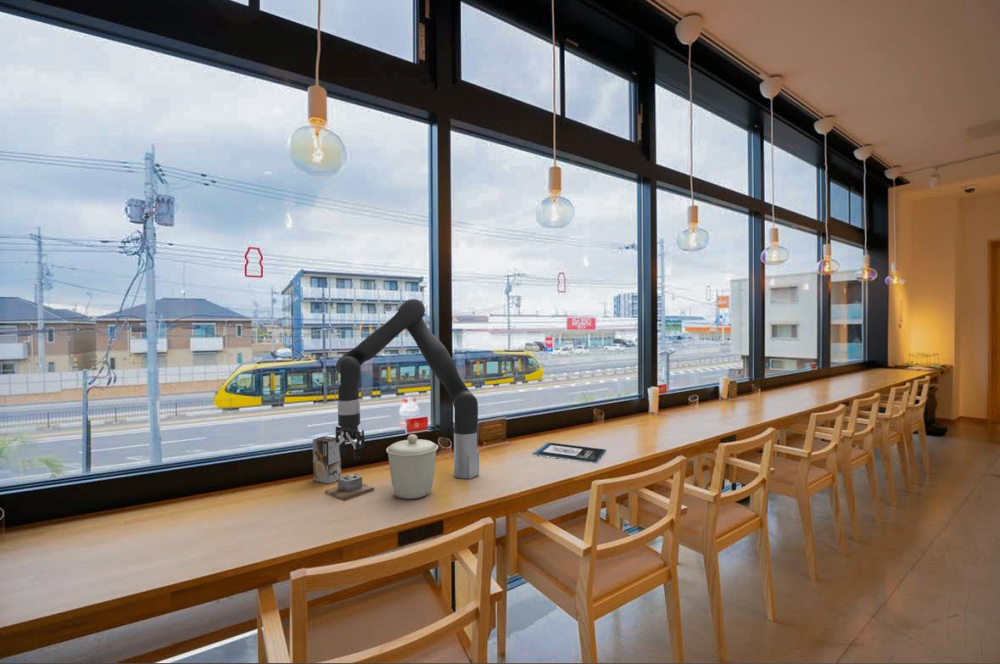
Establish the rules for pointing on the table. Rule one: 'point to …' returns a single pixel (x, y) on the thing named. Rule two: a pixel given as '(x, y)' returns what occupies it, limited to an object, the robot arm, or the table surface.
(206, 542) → the table surface
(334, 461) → the coffee box
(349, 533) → the table surface
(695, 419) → the table surface
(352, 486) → the collar
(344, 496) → the post stand
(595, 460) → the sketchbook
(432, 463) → the canister
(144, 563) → the table surface
